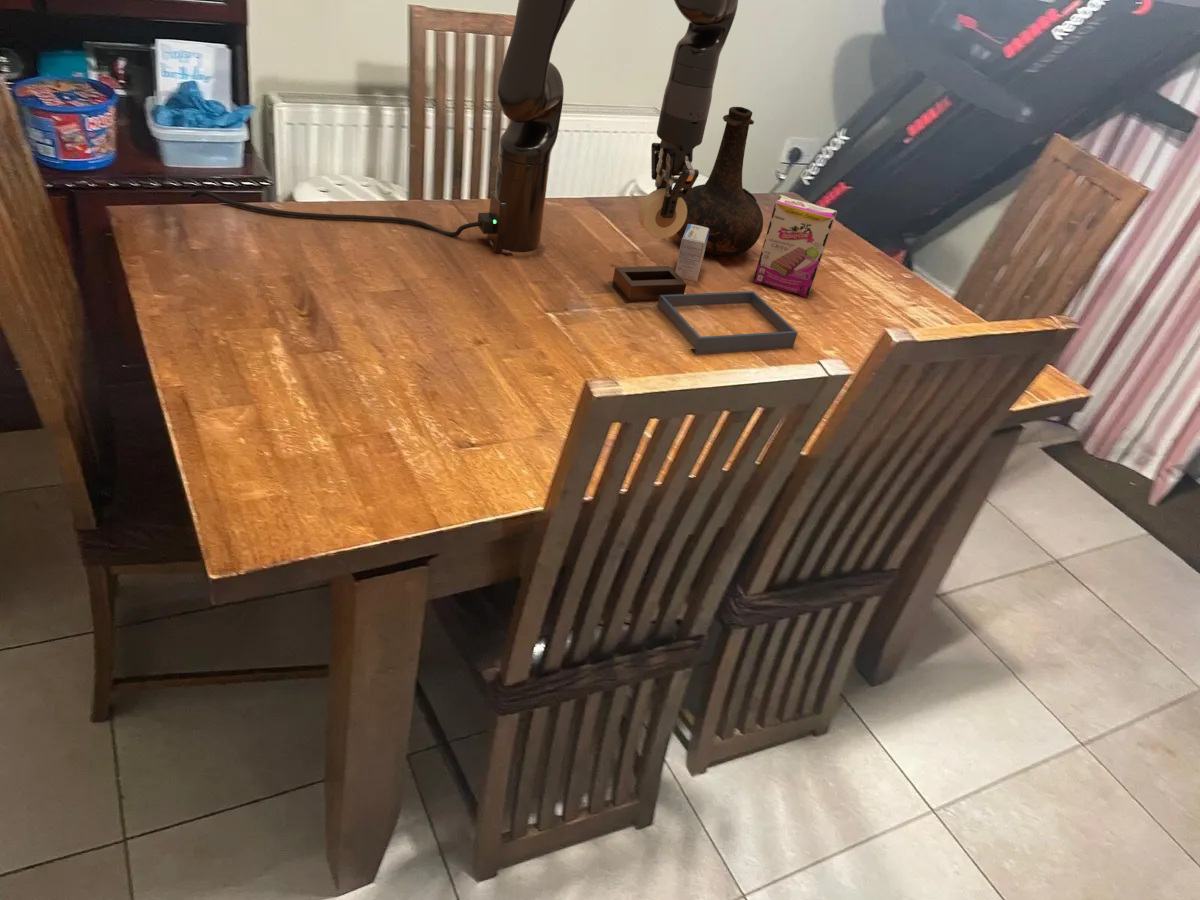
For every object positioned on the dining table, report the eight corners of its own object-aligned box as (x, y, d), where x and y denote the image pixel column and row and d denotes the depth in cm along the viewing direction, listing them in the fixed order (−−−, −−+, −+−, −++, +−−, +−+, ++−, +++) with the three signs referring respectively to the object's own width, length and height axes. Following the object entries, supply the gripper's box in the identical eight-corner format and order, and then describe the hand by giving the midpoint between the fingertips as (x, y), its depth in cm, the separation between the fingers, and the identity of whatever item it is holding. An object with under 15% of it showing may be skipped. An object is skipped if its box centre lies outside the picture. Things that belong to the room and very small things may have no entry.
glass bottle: (771, 262, 186) (810, 123, 170) (704, 273, 177) (740, 127, 161) (715, 227, 198) (747, 93, 181) (650, 236, 188) (677, 95, 172)
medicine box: (695, 286, 172) (706, 242, 167) (672, 280, 172) (682, 237, 167) (700, 269, 178) (710, 227, 173) (678, 264, 178) (687, 222, 173)
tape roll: (681, 238, 159) (691, 194, 154) (640, 238, 156) (649, 193, 151) (675, 232, 161) (685, 188, 156) (634, 232, 158) (643, 187, 153)
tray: (695, 354, 150) (699, 338, 148) (656, 310, 161) (659, 294, 159) (793, 347, 157) (797, 332, 156) (749, 305, 168) (753, 291, 167)
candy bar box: (751, 283, 177) (774, 201, 167) (756, 273, 181) (779, 193, 171) (808, 299, 175) (834, 217, 165) (812, 289, 179) (837, 209, 169)
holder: (687, 305, 164) (691, 285, 162) (624, 308, 159) (628, 287, 157) (667, 284, 170) (671, 264, 168) (606, 286, 166) (609, 265, 163)
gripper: (645, 95, 150) (626, 197, 160) (683, 124, 140) (660, 230, 150) (686, 97, 153) (665, 197, 163) (725, 126, 143) (700, 230, 153)
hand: (663, 213), depth 156 cm, fingers closed on tape roll, 2 cm apart
